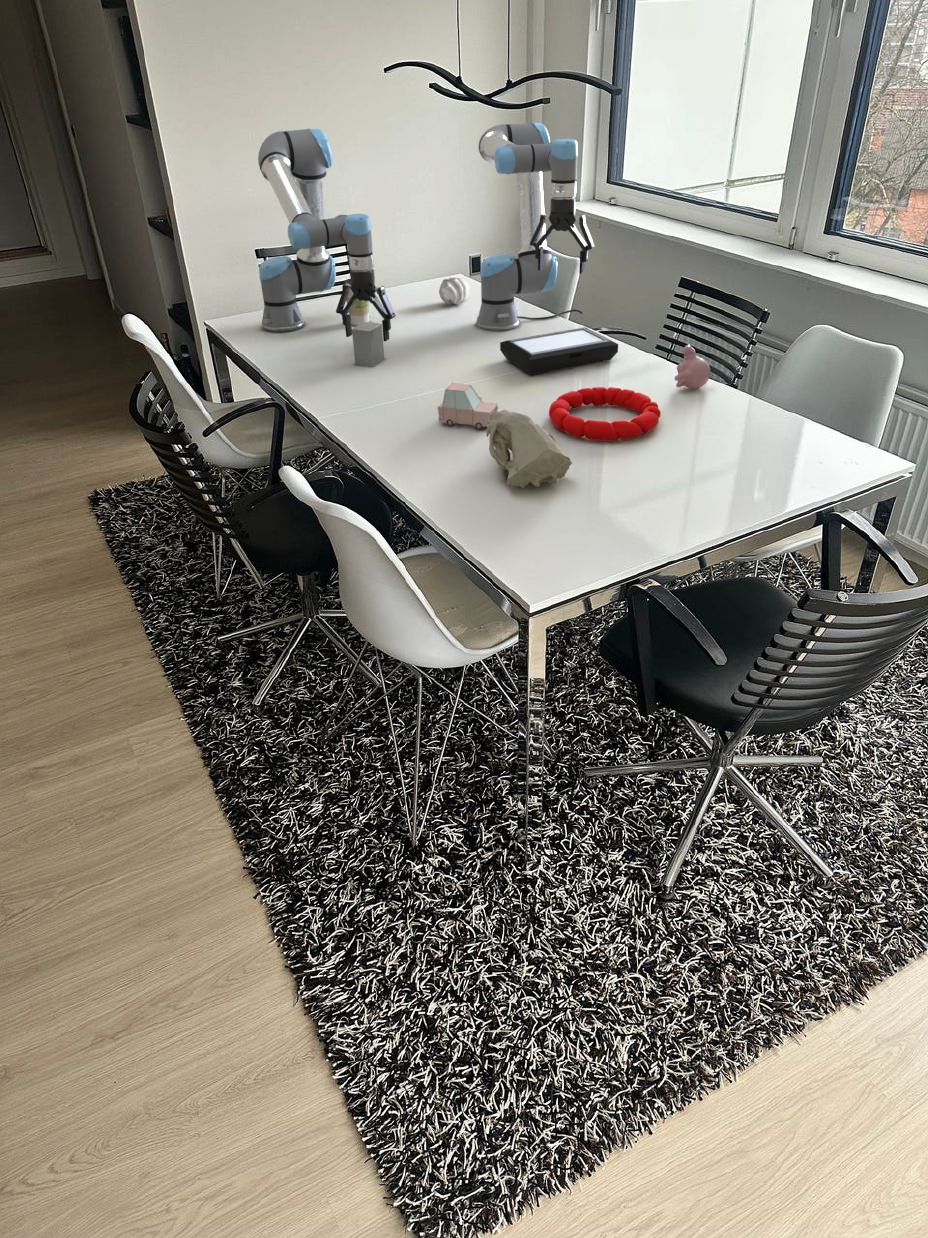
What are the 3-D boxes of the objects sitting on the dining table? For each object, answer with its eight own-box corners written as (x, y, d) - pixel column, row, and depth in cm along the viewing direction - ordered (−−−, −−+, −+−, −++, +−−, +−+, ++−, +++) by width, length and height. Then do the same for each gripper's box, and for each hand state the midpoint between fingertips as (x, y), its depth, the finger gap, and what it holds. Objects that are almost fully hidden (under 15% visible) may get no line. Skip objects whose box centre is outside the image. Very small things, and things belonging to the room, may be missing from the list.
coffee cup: (372, 326, 323) (368, 283, 314) (345, 327, 323) (340, 284, 315) (374, 318, 331) (371, 276, 322) (348, 319, 331) (344, 277, 323)
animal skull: (496, 517, 219) (521, 479, 201) (463, 429, 225) (484, 384, 207) (557, 503, 225) (586, 465, 206) (523, 417, 231) (549, 373, 212)
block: (355, 364, 289) (351, 329, 283) (367, 356, 295) (364, 321, 289) (372, 366, 287) (369, 330, 280) (384, 358, 293) (381, 323, 287)
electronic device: (528, 357, 271) (500, 339, 286) (528, 377, 274) (500, 358, 289) (618, 341, 281) (586, 325, 296) (617, 360, 284) (585, 343, 300)
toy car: (488, 432, 240) (488, 396, 234) (436, 426, 244) (434, 390, 239) (499, 419, 247) (499, 384, 241) (448, 413, 252) (447, 379, 246)
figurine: (665, 387, 264) (669, 347, 257) (693, 380, 268) (698, 340, 261) (686, 396, 257) (690, 355, 250) (714, 388, 262) (720, 348, 255)
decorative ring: (589, 435, 224) (684, 402, 234) (527, 398, 247) (617, 369, 256) (589, 461, 229) (683, 427, 238) (529, 422, 251) (617, 393, 260)
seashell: (432, 303, 345) (431, 277, 340) (465, 297, 351) (465, 271, 345) (444, 310, 338) (443, 282, 332) (478, 303, 343) (478, 276, 338)
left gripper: (320, 268, 276) (328, 337, 288) (392, 275, 268) (397, 345, 280) (332, 263, 282) (339, 330, 294) (403, 269, 273) (407, 338, 286)
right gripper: (520, 197, 270) (519, 270, 282) (599, 201, 261) (595, 276, 273) (528, 193, 275) (527, 265, 287) (606, 196, 267) (602, 270, 279)
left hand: (367, 337), depth 287 cm, fingers open, 13 cm apart
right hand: (560, 271), depth 280 cm, fingers open, 13 cm apart
